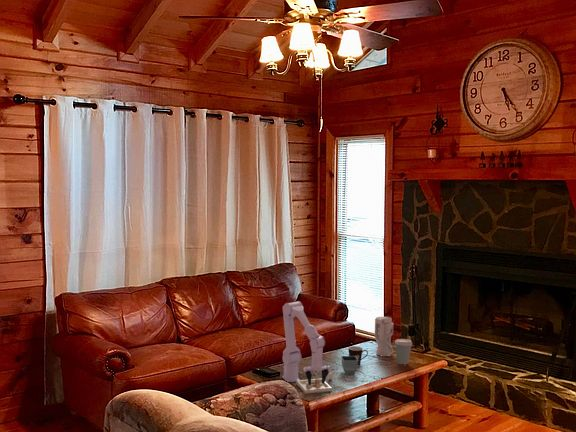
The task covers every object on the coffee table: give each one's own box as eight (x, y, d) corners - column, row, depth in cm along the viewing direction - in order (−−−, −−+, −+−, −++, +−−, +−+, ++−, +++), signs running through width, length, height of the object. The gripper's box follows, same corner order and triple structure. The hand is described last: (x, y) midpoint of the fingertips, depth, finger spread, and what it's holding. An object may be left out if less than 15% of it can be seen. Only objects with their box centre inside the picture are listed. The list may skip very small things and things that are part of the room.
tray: (296, 384, 339) (296, 380, 338) (321, 381, 343) (322, 378, 343) (305, 393, 324) (305, 390, 324) (331, 391, 329) (332, 387, 329)
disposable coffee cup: (390, 362, 379) (391, 339, 377) (402, 359, 385) (403, 336, 384) (402, 367, 370) (403, 343, 369) (415, 364, 377) (416, 340, 375)
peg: (327, 379, 347) (328, 372, 346) (331, 379, 347) (331, 372, 347) (329, 380, 345) (329, 373, 345) (332, 380, 346) (332, 373, 345)
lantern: (382, 350, 403) (383, 313, 401) (395, 354, 395) (396, 316, 393) (370, 355, 394) (371, 316, 391) (383, 358, 386) (385, 319, 384)
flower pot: (340, 370, 362) (341, 355, 362) (355, 370, 363) (355, 355, 362) (342, 375, 354) (343, 360, 353) (357, 375, 354) (358, 360, 353)
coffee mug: (346, 365, 372) (347, 349, 371) (349, 361, 380) (349, 345, 379) (365, 367, 368) (366, 351, 367) (368, 363, 376) (368, 347, 376)
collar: (306, 385, 336) (305, 376, 336) (318, 384, 338) (317, 375, 338) (312, 389, 326) (312, 380, 326) (324, 387, 328) (324, 379, 328)
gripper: (306, 362, 323) (306, 387, 324) (332, 360, 327) (331, 385, 328) (302, 358, 330) (301, 383, 331) (327, 356, 334) (326, 380, 335)
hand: (316, 383), depth 330 cm, fingers open, 7 cm apart
